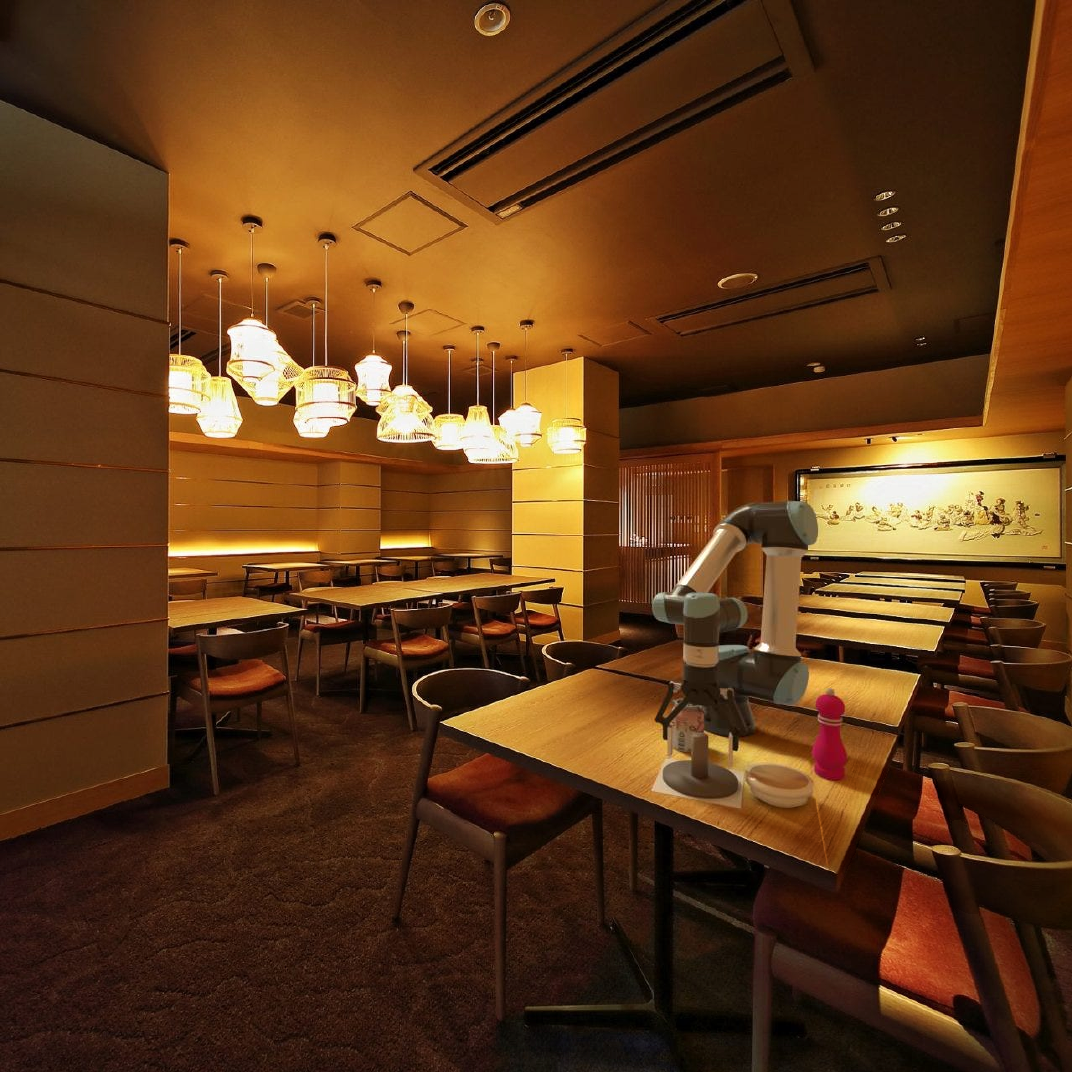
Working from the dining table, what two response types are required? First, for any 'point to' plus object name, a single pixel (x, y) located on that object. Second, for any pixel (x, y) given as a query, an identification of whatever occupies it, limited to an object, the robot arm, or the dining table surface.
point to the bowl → (779, 784)
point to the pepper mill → (829, 738)
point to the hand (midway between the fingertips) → (699, 759)
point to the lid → (700, 773)
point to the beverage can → (687, 725)
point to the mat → (727, 801)
